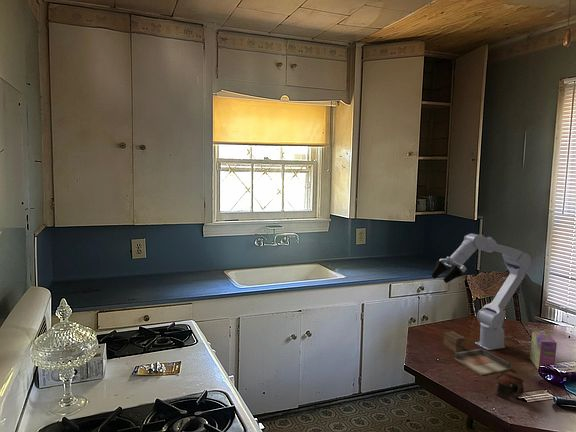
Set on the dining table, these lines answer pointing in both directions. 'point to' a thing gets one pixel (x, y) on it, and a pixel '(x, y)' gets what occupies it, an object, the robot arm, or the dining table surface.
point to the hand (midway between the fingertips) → (438, 279)
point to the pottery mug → (504, 386)
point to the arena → (482, 361)
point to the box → (542, 349)
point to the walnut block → (454, 341)
